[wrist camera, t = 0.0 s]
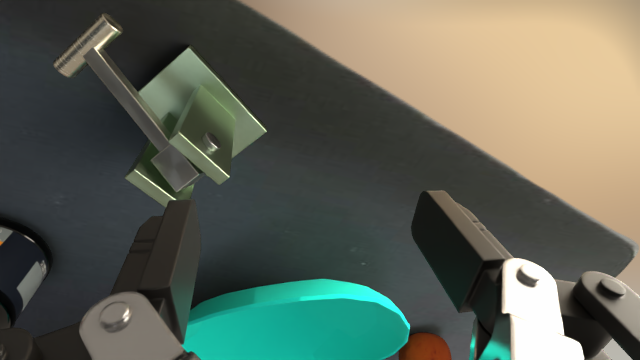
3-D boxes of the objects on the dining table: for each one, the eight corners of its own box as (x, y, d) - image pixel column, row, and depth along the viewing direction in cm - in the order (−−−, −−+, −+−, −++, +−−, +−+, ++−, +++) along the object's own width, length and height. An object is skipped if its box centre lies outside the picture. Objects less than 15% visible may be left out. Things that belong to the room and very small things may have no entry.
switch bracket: (127, 100, 30) (66, 163, 20) (190, 44, 28) (158, 81, 18) (209, 171, 35) (192, 248, 25) (266, 126, 33) (272, 190, 24)
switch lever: (71, 63, 24) (40, 58, 21) (118, 17, 23) (91, 7, 20) (179, 195, 25) (161, 204, 23) (227, 157, 24) (214, 162, 22)
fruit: (387, 353, 62) (403, 399, 55) (402, 324, 57) (422, 370, 51) (428, 351, 64) (448, 395, 57) (446, 323, 60) (470, 366, 53)
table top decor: (284, 388, 62) (292, 478, 51) (128, 368, 50) (94, 479, 39) (419, 245, 47) (471, 328, 36) (243, 171, 36) (240, 259, 25)
